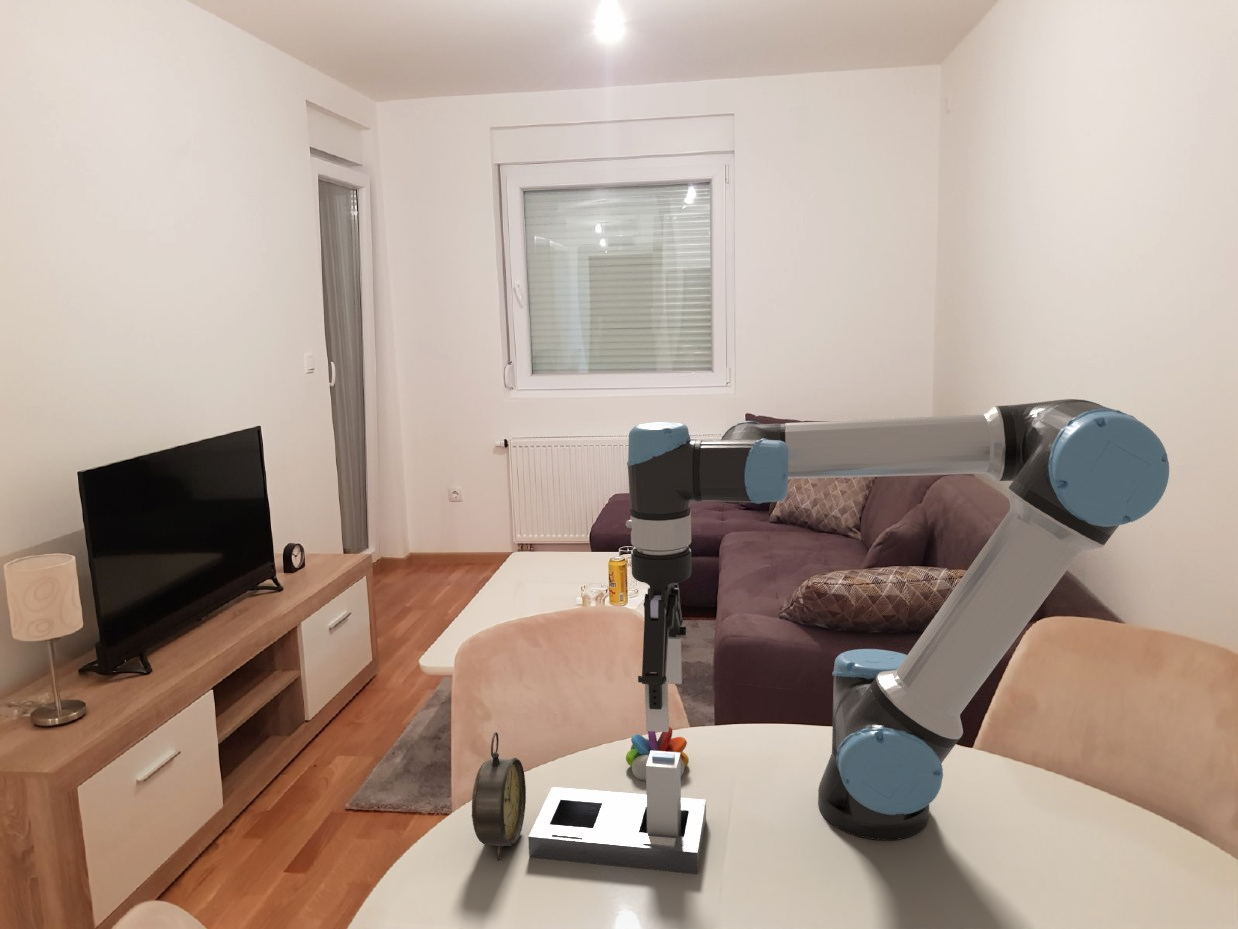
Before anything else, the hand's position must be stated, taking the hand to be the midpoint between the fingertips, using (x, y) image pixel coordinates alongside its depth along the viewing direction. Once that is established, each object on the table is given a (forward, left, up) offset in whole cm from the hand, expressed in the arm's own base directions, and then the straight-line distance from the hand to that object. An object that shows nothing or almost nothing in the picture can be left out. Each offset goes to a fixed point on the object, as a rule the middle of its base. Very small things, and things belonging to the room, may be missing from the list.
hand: (665, 705), depth 115 cm
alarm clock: (+22, +3, -20) cm, 30 cm away
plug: (0, 0, -20) cm, 20 cm away
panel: (+6, 0, -20) cm, 21 cm away
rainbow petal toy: (+4, -19, -21) cm, 28 cm away
